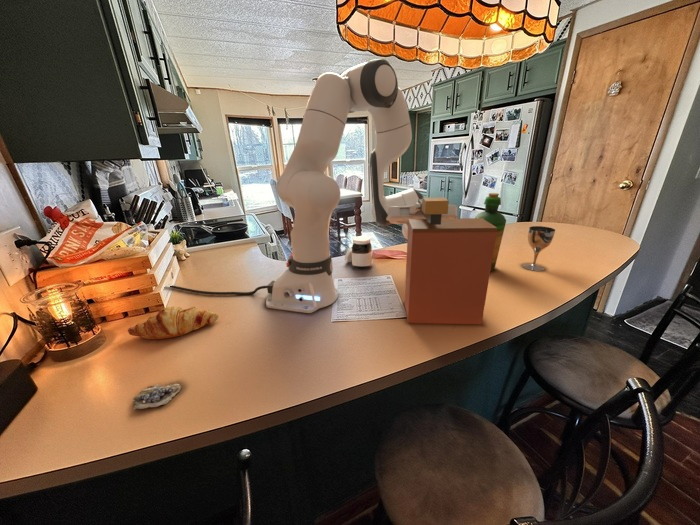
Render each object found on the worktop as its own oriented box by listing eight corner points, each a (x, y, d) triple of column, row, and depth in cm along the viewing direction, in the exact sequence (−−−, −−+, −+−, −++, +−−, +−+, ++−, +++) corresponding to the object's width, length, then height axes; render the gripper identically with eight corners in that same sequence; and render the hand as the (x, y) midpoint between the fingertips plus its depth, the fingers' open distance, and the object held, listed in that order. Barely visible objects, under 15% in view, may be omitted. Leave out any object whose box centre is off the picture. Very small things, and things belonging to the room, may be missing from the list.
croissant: (222, 325, 82) (218, 299, 83) (217, 328, 73) (213, 298, 73) (137, 343, 75) (134, 313, 76) (120, 348, 66) (116, 315, 66)
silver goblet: (544, 273, 100) (554, 233, 95) (519, 268, 105) (527, 230, 99) (546, 266, 106) (556, 227, 101) (522, 261, 111) (530, 225, 105)
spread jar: (369, 271, 107) (369, 242, 103) (341, 269, 110) (340, 241, 105) (373, 260, 118) (373, 233, 114) (347, 259, 120) (346, 233, 116)
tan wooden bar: (424, 224, 64) (425, 201, 62) (413, 207, 83) (414, 188, 81) (446, 224, 63) (448, 200, 61) (430, 207, 83) (431, 188, 81)
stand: (407, 322, 74) (412, 228, 65) (404, 303, 84) (408, 219, 74) (481, 324, 73) (497, 227, 63) (469, 304, 82) (482, 218, 72)
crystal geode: (134, 394, 55) (131, 387, 54) (180, 376, 59) (177, 369, 58) (133, 419, 50) (129, 411, 49) (183, 397, 54) (181, 389, 53)
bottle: (480, 275, 100) (492, 197, 90) (461, 264, 110) (470, 192, 100) (504, 271, 103) (519, 194, 92) (484, 261, 112) (495, 190, 102)
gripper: (386, 211, 92) (387, 195, 78) (449, 210, 90) (462, 193, 76) (386, 229, 91) (387, 217, 77) (450, 229, 89) (463, 215, 75)
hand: (425, 205), depth 76 cm, fingers closed on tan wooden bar, 2 cm apart
